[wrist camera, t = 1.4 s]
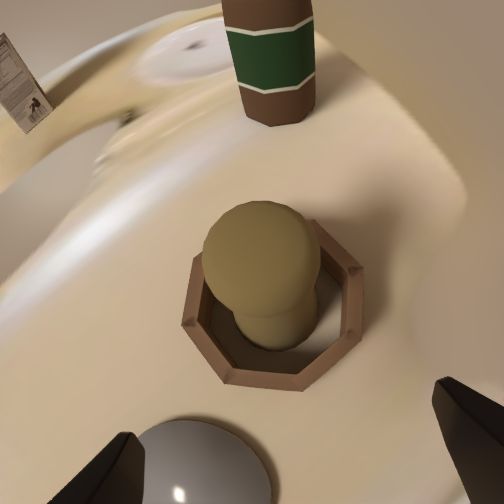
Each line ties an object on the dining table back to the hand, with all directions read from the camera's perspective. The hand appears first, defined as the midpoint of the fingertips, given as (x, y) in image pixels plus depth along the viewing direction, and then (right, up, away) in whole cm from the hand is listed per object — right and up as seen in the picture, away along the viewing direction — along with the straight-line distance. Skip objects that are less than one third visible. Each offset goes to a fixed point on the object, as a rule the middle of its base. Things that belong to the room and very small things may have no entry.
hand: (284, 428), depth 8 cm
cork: (+1, +1, +15) cm, 15 cm away
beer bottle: (+2, +20, +24) cm, 31 cm away
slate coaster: (-5, -12, +10) cm, 16 cm away
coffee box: (-37, +28, +33) cm, 57 cm away
